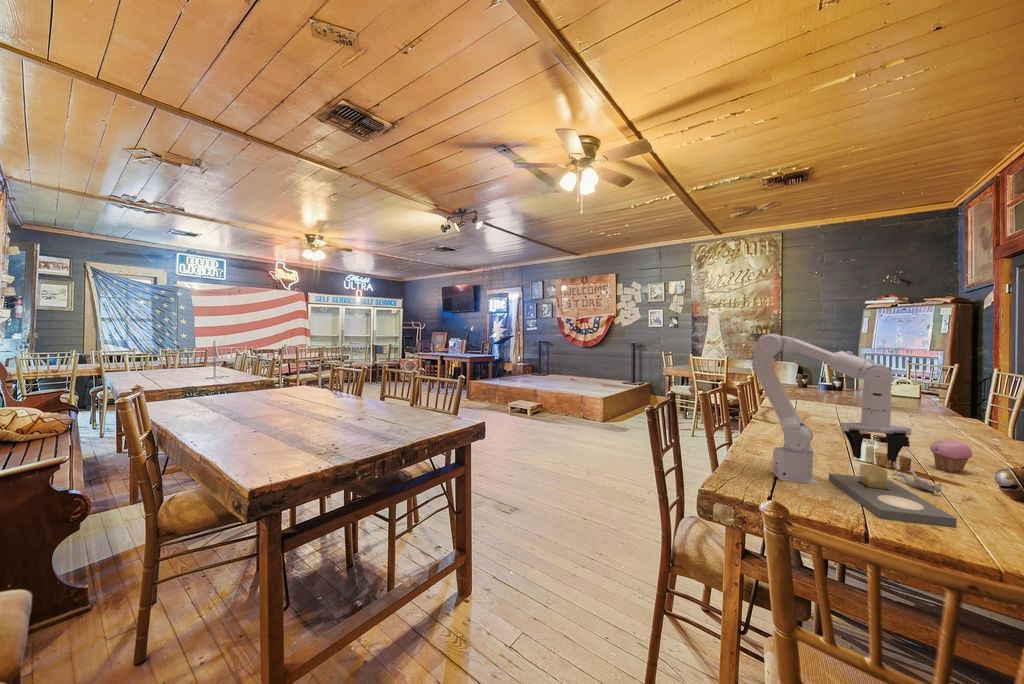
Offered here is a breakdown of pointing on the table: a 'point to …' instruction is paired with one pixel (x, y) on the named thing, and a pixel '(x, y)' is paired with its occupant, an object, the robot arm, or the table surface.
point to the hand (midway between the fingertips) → (873, 459)
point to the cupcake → (950, 455)
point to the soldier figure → (918, 481)
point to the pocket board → (893, 502)
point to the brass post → (873, 476)
